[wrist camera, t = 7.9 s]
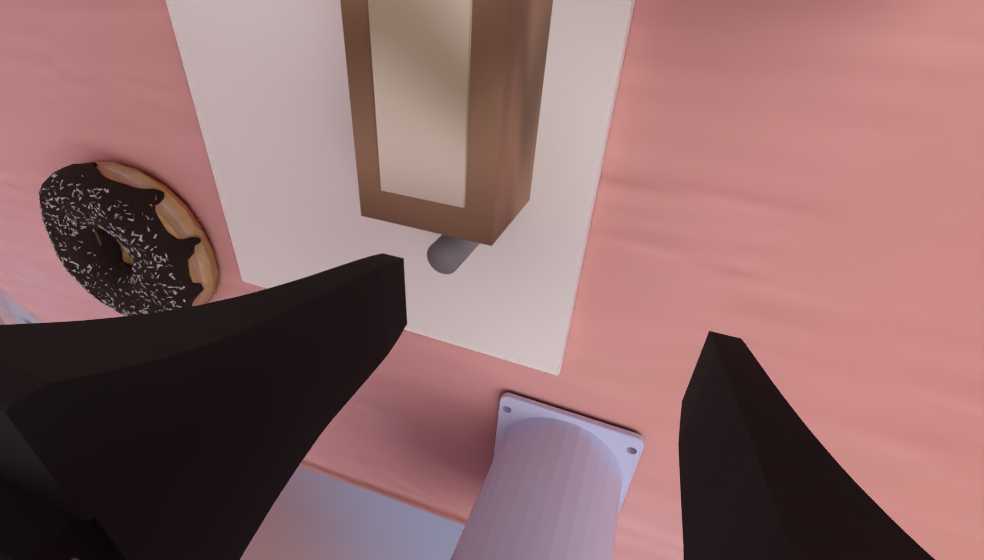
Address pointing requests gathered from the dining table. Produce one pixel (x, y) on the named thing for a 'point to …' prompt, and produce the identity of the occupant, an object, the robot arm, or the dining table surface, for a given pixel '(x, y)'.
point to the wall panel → (334, 183)
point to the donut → (127, 238)
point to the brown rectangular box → (446, 109)
